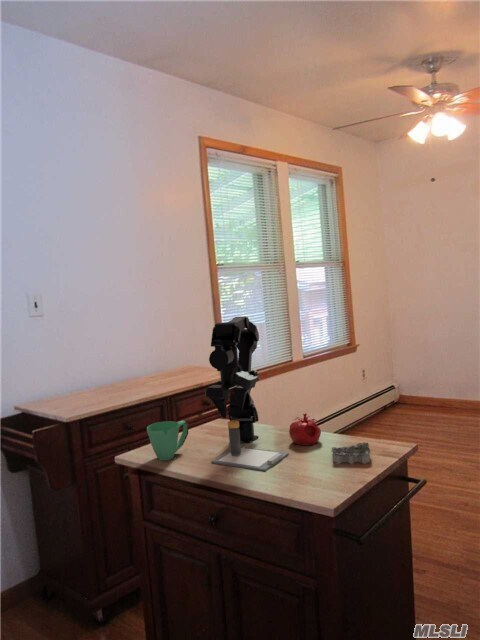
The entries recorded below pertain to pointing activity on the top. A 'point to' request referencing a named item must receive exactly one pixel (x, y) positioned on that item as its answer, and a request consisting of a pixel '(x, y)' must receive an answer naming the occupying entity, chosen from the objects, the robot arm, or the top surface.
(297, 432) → the pomegranate
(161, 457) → the mug
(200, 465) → the top surface
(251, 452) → the whiteboard
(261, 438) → the top surface
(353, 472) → the top surface
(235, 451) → the marker
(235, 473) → the top surface
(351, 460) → the egg carton
